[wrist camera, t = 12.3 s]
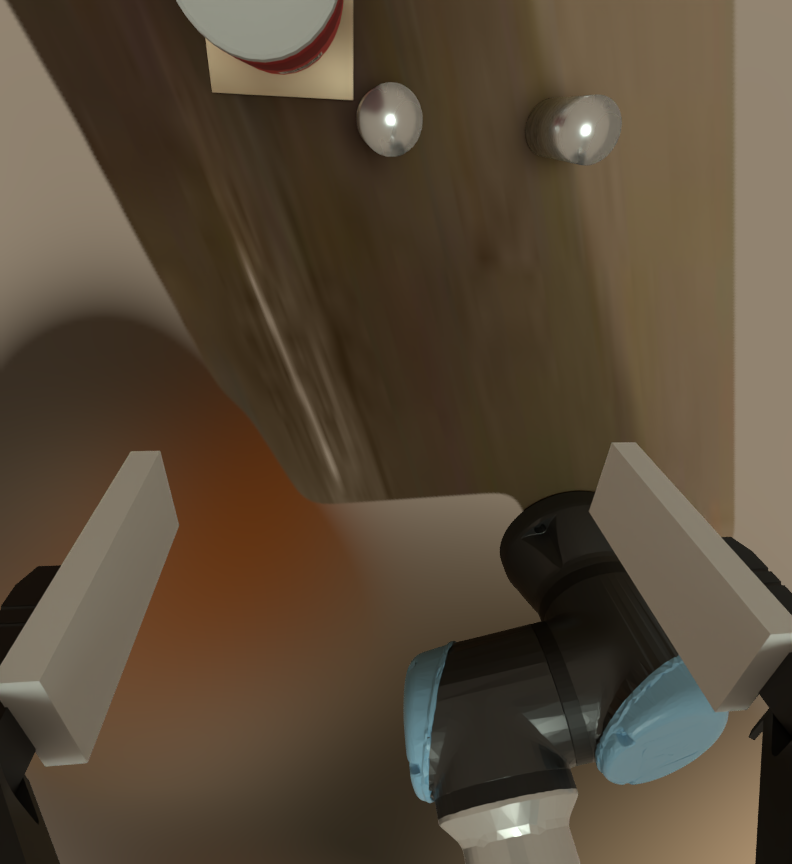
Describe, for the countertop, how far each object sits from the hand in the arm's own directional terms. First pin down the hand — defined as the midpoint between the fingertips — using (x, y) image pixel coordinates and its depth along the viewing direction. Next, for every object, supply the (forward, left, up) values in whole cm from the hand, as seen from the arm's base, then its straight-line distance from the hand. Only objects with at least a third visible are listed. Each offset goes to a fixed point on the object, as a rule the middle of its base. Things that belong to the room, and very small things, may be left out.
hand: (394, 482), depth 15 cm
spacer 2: (+9, -13, -29) cm, 33 cm away
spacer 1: (+9, -1, -29) cm, 30 cm away
